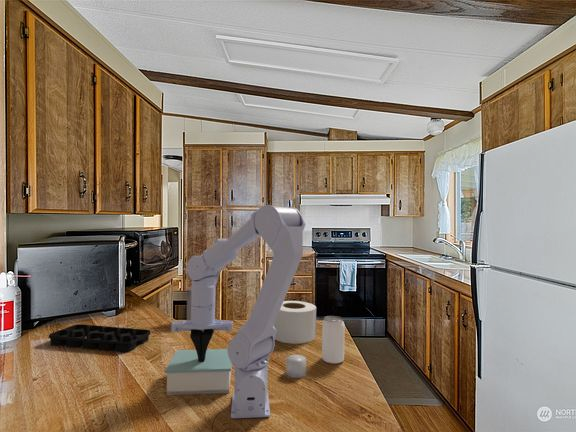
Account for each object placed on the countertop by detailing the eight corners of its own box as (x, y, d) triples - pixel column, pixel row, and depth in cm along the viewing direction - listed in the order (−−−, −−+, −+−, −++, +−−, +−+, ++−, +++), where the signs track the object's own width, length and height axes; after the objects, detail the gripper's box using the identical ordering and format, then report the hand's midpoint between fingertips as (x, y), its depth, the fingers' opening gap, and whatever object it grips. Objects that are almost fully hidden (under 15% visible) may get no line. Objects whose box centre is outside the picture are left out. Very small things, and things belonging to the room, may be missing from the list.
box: (228, 393, 77) (229, 371, 77) (166, 395, 76) (167, 373, 76) (231, 370, 89) (232, 351, 89) (177, 371, 88) (178, 352, 88)
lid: (231, 371, 77) (231, 368, 77) (164, 373, 75) (165, 370, 75) (233, 351, 89) (233, 348, 89) (176, 352, 88) (176, 350, 88)
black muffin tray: (69, 334, 115) (69, 323, 115) (157, 334, 117) (157, 324, 117) (32, 354, 98) (33, 341, 98) (136, 354, 99) (137, 342, 99)
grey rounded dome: (307, 378, 86) (307, 362, 86) (287, 378, 85) (287, 362, 85) (304, 369, 91) (304, 354, 91) (285, 369, 90) (285, 354, 91)
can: (326, 365, 93) (327, 322, 94) (318, 356, 100) (319, 316, 100) (347, 363, 95) (348, 321, 95) (338, 354, 101) (339, 314, 102)
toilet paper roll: (321, 333, 121) (322, 303, 121) (304, 347, 107) (305, 313, 107) (283, 326, 128) (284, 298, 128) (263, 338, 114) (263, 307, 114)
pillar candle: (215, 319, 135) (215, 282, 135) (206, 326, 125) (207, 286, 125) (192, 318, 136) (192, 281, 136) (182, 325, 126) (182, 286, 126)
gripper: (233, 300, 87) (232, 353, 86) (176, 300, 85) (174, 354, 85) (232, 307, 80) (231, 364, 79) (169, 307, 78) (168, 366, 78)
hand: (201, 360), depth 82 cm, fingers closed, pressing on lid
